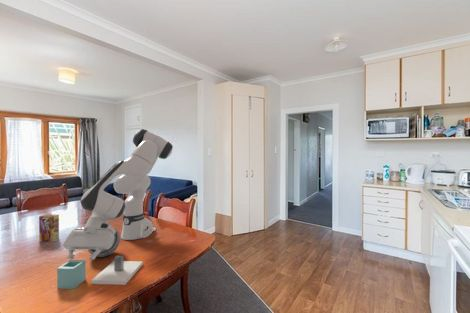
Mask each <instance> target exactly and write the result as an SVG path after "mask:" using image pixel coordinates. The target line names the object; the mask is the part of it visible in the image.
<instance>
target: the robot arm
mask: <svg viewBox="0 0 470 313" xmlns="http://www.w3.org/2000/svg"><path fill="white" fill-rule="evenodd" d="M132 143H133V145H134V146H135V148H134V150H133V152H132V153H131V155H130V156H128V157H127V158H126V159H124V160H119V161H117V162H116V163H114V164H113V165H112V166H111V167H110V168H109V169H108V170H107V171H106V172H105V173H104V174H103V175H102V177H100V178H99V180H97V181H96V182H95V183H94V185H92V186H91V187H90V188H89V189H88V190H86V191H85V192H84V193H83V195H82V196H81V198H80V200H79V201H80V205H81V207H82V209H83V210H87V211H90V212H91V215H90V217H89V218H88V219H87V221H86V223H85V225H84V227H77V228H74V229H72V230H71V231H70V233H69V234H68V236H67V237H66V238H65V240H64V241H63V243H62V246H63V247H64V248H65V249H66V250H68V255H67V259H68V260H74V257H75V254H74V252H75V251H76V250H88V249H95V250H96V251H95V252H94V253H93V254H91V253H90V256H89V260H95V259H96V258H97V257H96V256H97V255H98V254H99V253H100V252H101V250H102V249H109V248H111V246H112V244H113V241H114V234H115V233H116V230H117V229H116V228H115V229H116V230H115V229H114V226H113V225H111V224H109V222H110V220H115V219H118V218H120V217H122V221H123V222H122V227H121V229H122V230H121V232H120V240H121V239H122V240H126V241H131V240H132V241H134V240H137V239H139V240H140V239H145V238H147V237H149V236H150V235H151V234H153V233H154V232H155V231H156V230H157V229H156V227H155V226H154V227H153V222H152V221H151V220H149V219H148V218H146V216H147V215H148V212H147V211H144V208H143V207H144V198H145V196H146V192H147V190H148V188H149V187H150V185H151V183H152V182H151V181H152V180H151V176H149V174H150V173H151V171H152V170H153V168H154V166H155V164H156V162H157V161H158V158H159V159H160V160H161V159H162V160H165V159H166V160H167V158H169V157H171V154H172V153H173V148H174V147H173V144H172V143H171V142H170V141H167V140H166V139H164V138H163V137H161V136H160V135H157V134H155V133H153V132H150V131H148V130H147V129H144V128H140V129H138V131H135V133H134V135H133V138H132ZM118 176H119V177H118ZM116 177H117V178H116ZM114 179H115V180H114ZM113 180H114V182H113V189H114V191H115V192H116V193H117V194H122V195H124V194H125V195H128V196H127V197H126V199H125V200H124V199H122V198H120V197H117V196H116V195H113V194H111V193H109V192H107V191H105V188H106V187H107V186H108V185H109V184H110V183H111V182H112V181H113ZM153 231H154V232H153ZM152 232H153V233H152Z"/></svg>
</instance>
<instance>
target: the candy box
mask: <svg viewBox="0 0 470 313" xmlns="http://www.w3.org/2000/svg"><path fill="white" fill-rule="evenodd" d="M38 216H39V217H38V220H39V221H38V223H39V224H38V226H39V227H38V229H39V233H38V234H39V238H38V239H39V242H40V243H45V242H46V243H47V242H48V243H49V242H50V243H52V242H55V241H58V240H60V214H42V215H38Z"/></svg>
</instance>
